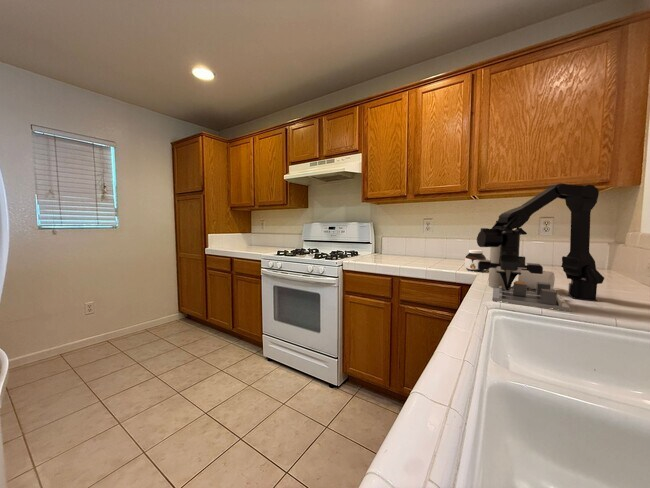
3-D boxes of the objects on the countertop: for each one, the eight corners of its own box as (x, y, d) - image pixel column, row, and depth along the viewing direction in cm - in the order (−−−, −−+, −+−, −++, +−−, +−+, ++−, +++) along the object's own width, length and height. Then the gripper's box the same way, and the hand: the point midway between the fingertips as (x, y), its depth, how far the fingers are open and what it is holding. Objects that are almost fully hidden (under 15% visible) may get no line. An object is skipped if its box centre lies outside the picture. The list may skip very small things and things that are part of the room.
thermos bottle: (493, 283, 118) (496, 220, 116) (514, 287, 112) (518, 220, 109) (484, 286, 114) (488, 220, 112) (505, 289, 107) (509, 220, 105)
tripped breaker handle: (525, 294, 95) (525, 281, 94) (525, 296, 92) (526, 283, 92) (513, 292, 97) (513, 280, 96) (513, 294, 94) (514, 282, 93)
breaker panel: (559, 298, 95) (560, 283, 94) (570, 311, 81) (571, 294, 80) (493, 290, 106) (494, 277, 105) (492, 300, 92) (493, 285, 91)
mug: (547, 293, 102) (549, 273, 101) (517, 288, 110) (518, 269, 110) (557, 289, 109) (558, 269, 109) (527, 284, 117) (528, 266, 117)
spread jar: (462, 269, 154) (463, 249, 154) (475, 268, 159) (476, 249, 158) (482, 273, 144) (483, 251, 143) (495, 271, 148) (496, 251, 148)
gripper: (477, 247, 94) (475, 291, 95) (546, 250, 83) (543, 299, 84) (479, 245, 103) (478, 285, 104) (541, 247, 92) (539, 292, 94)
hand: (507, 290), depth 96 cm, fingers closed
